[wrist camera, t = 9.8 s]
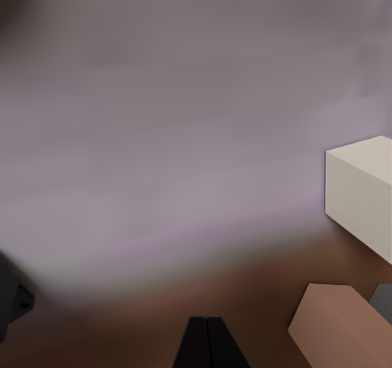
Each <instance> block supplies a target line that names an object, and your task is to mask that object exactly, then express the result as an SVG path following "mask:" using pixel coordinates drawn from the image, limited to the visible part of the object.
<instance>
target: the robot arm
mask: <svg viewBox="0 0 392 368" xmlns="http://www.w3.org/2000/svg"><path fill="white" fill-rule="evenodd" d="M23 301H27V302H29V303H27V304H24V303H22V302H23ZM34 304H35V297H34V296H33V295H32V294H31V293H30V292H29V291H28V290H27V289H25V288H24V287H23V286H22V285H21V284H20V283H19V280H18V279H17V278H16V277H15V276H14V275H13V274H11V273H10V272H9V271H8V270H7V269H6V268H5V267H3V266H2V265H1V264H0V344H1V343H2V342H4V340H5V337H6V333H7V329H8V325H9V324H10V323H11V322H13V321H14V320H16V319H18V318H19V317H21V316H22V315H24V314H25V313H27V312H29V311H30V310H31V309H32V308H33V307H34ZM171 368H252V366H251V365H250V363H249V361H248V360H247V358H246V356H245V355H244V353H243V351H242V349H241V348H240V346H239V344H238V343H237V341H236V339H235V338H234V336H233V334H232V333H231V331H230V329H229V328H228V326H227V324H226V323H225V321H224V319H223V318H222V317H221V316H219V315H208V316H206V317H205V316H203V315H191V316H190V317H189V319H188V321H187V324H186V327H185V330H184V333H183V336H182V339H181V341H180V344H179V347H178V350H177V353H176V356H175V359H174V361H173V364H172V367H171Z"/></svg>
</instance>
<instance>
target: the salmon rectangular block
mask: <svg viewBox="0 0 392 368" xmlns="http://www.w3.org/2000/svg"><path fill="white" fill-rule="evenodd" d="M287 331H288V332H289V334H290V335H291V337H292V338H293V340H294V341H295V343H296V344H297V346H298V347H299V349H300V350H301V352H302V353H303V355H304V356H305V358H306V359H307V361H308V362H309V364H310V365H311V367H312V368H392V325H391V324H389V323H388V322H387V321H386V320H385V319H384V318H383V317H382V316H381V315H380V314H379V313H378V312H377V311H376V310H375V309H374V308H373V307H372V306H371V305H370V304H369V303H368V302H367V301H366V300H365V299H364V298H363V297H362V296H361V295H360V294H359V293H358V292H357V291H356V290H355V289H353V288H352V287H351V286H347V285H330V284H313V283H309V285H308V287H307V289H306V291H305V293H304V296H303V298H302V300H301V302H300V304H299V306H298V309H297V311H296V313H295V315H294V317H293V320H292V322H291V324H290V326H289V328H288V330H287Z"/></svg>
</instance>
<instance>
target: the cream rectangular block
mask: <svg viewBox="0 0 392 368" xmlns="http://www.w3.org/2000/svg"><path fill="white" fill-rule="evenodd" d="M325 213H326V214H327V215H328V216H330V217H331V218H332V219H333V220H335V221H336V222H337V223H339V224H340V225H341V226H343V227H344V228H345V229H346V230H348V231H349V232H350V233H352V234H353V235H354V236H355V237H357V238H358V239H359V240H361V241H362V242H363V243H365V244H366V245H367V246H368V247H370V248H371V249H372V250H374V251H375V252H376V253H377V254H379V255H380V256H381V257H383V258H384V259H385V260H387V261H388V262H389V263H390V264H392V139H389V138H386V137H383V136H378V137H375V138H371V139H368V140H364V141H360V142H357V143H353V144H350V145H346V146H343V147H339V148H335V149H332V150H328V151H326V182H325Z"/></svg>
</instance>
